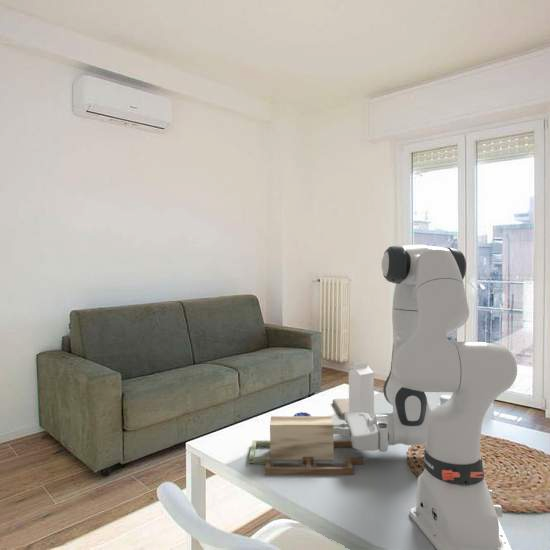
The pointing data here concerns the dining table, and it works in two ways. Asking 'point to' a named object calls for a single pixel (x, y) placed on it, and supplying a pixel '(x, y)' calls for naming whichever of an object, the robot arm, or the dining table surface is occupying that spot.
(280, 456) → the beige rectangular block
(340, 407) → the washcloth
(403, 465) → the dining table surface
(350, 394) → the milk
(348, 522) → the dining table surface
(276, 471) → the frame
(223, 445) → the dining table surface
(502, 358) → the robot arm
